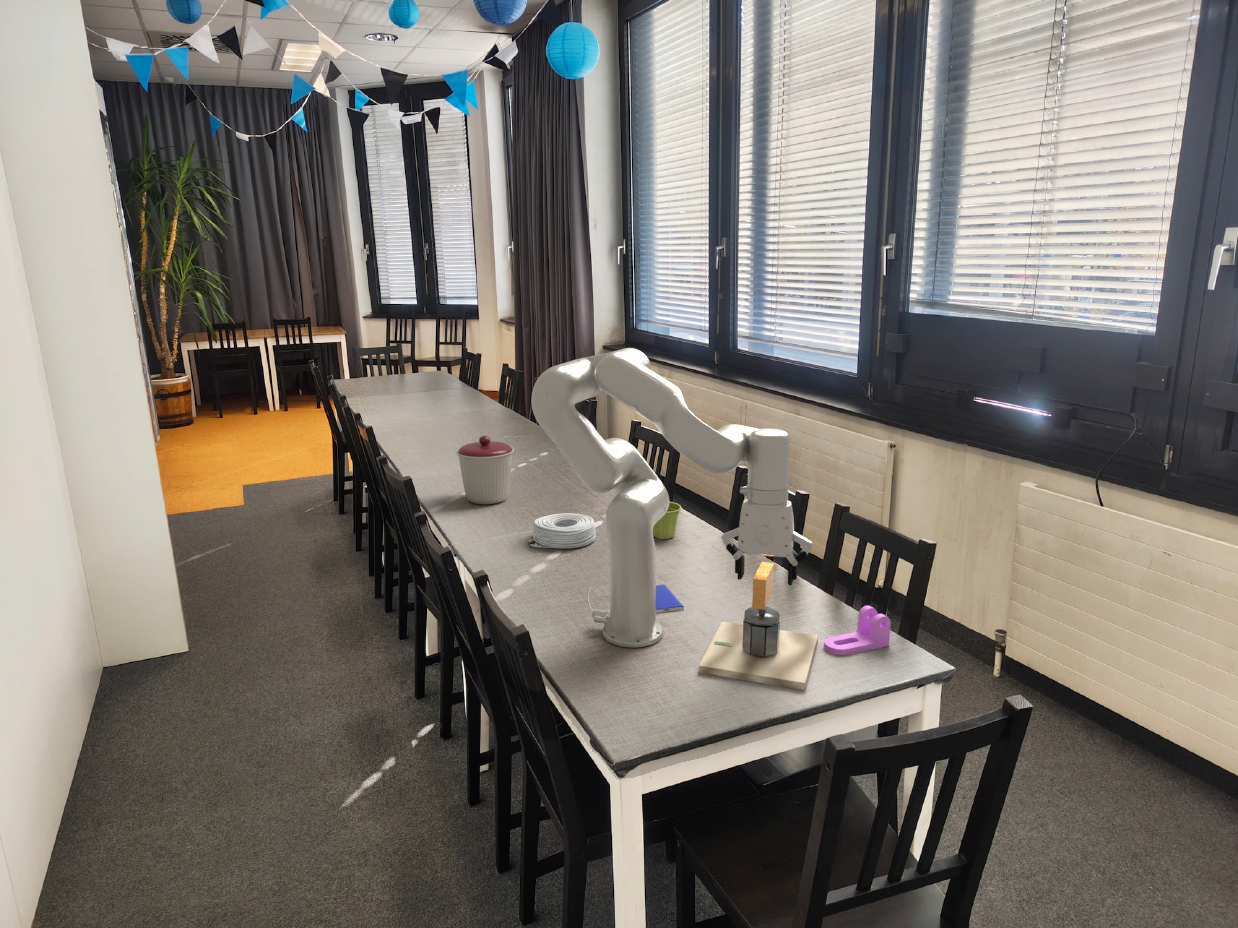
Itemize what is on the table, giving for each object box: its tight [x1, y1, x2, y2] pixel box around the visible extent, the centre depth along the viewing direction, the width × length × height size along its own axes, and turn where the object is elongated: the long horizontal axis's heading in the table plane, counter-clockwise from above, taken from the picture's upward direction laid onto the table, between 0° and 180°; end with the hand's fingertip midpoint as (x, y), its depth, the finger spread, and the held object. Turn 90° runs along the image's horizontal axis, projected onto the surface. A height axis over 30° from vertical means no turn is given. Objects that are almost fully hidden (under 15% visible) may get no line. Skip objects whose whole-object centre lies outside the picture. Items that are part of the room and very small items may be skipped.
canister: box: [455, 435, 515, 505], centre depth 263 cm, size 18×18×21 cm
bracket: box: [823, 605, 892, 656], centre depth 168 cm, size 13×6×7 cm, turn 111°
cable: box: [527, 512, 597, 550], centre depth 229 cm, size 18×18×6 cm
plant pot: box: [653, 501, 682, 540], centre depth 231 cm, size 9×9×9 cm
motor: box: [742, 561, 781, 656], centre depth 162 cm, size 7×10×16 cm, turn 160°
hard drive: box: [656, 584, 685, 614], centre depth 190 cm, size 2×8×12 cm
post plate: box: [698, 621, 819, 691], centre depth 163 cm, size 20×20×8 cm
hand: (765, 579), depth 160 cm, fingers open, 9 cm apart
